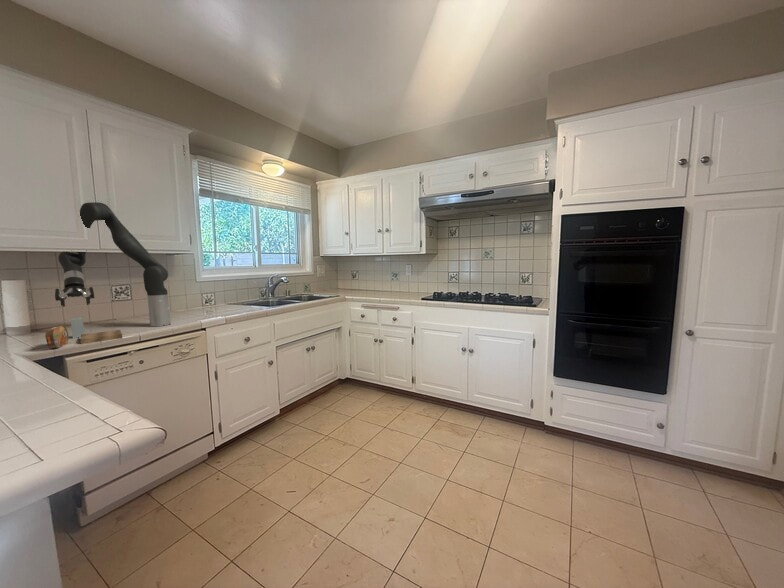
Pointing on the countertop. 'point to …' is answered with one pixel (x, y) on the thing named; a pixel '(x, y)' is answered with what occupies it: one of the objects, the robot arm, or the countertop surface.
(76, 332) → the slate block
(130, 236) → the robot arm
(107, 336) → the walnut board
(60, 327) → the tin
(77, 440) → the countertop surface
